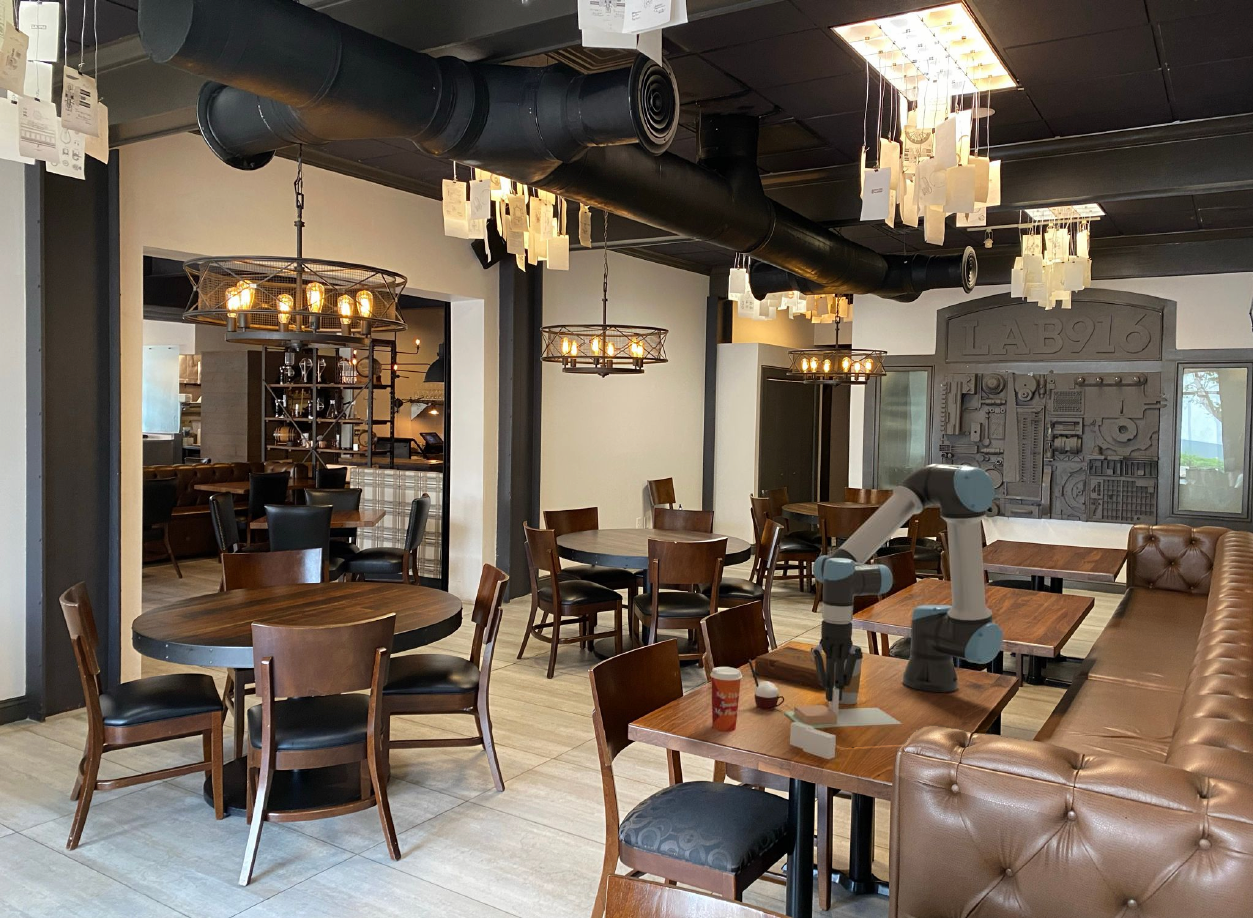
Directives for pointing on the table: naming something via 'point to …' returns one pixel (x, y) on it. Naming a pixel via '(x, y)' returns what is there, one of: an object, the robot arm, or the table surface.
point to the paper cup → (725, 697)
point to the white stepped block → (812, 740)
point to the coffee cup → (852, 682)
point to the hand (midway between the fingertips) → (833, 713)
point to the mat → (853, 718)
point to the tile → (815, 714)
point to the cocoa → (765, 693)
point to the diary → (790, 666)
